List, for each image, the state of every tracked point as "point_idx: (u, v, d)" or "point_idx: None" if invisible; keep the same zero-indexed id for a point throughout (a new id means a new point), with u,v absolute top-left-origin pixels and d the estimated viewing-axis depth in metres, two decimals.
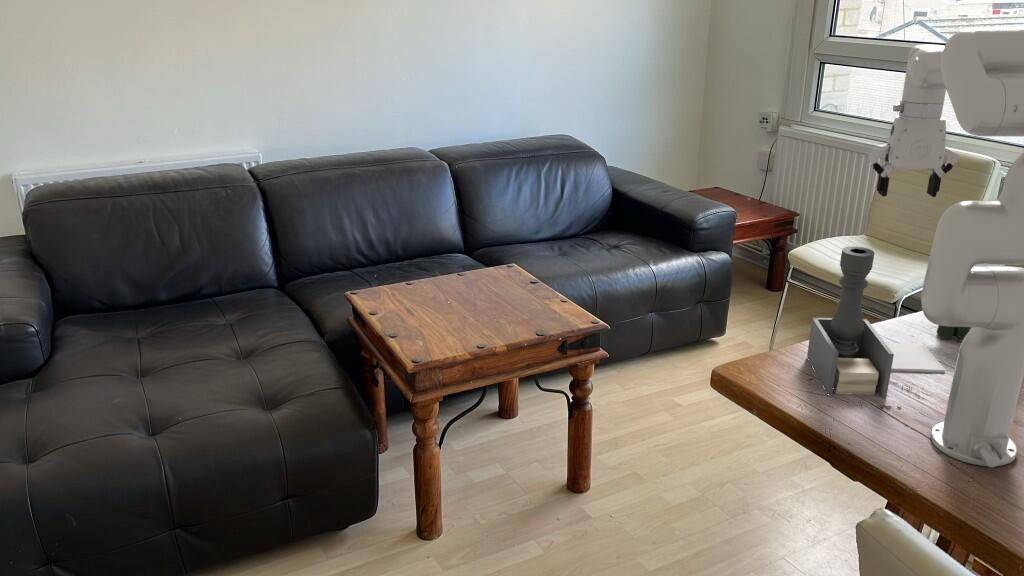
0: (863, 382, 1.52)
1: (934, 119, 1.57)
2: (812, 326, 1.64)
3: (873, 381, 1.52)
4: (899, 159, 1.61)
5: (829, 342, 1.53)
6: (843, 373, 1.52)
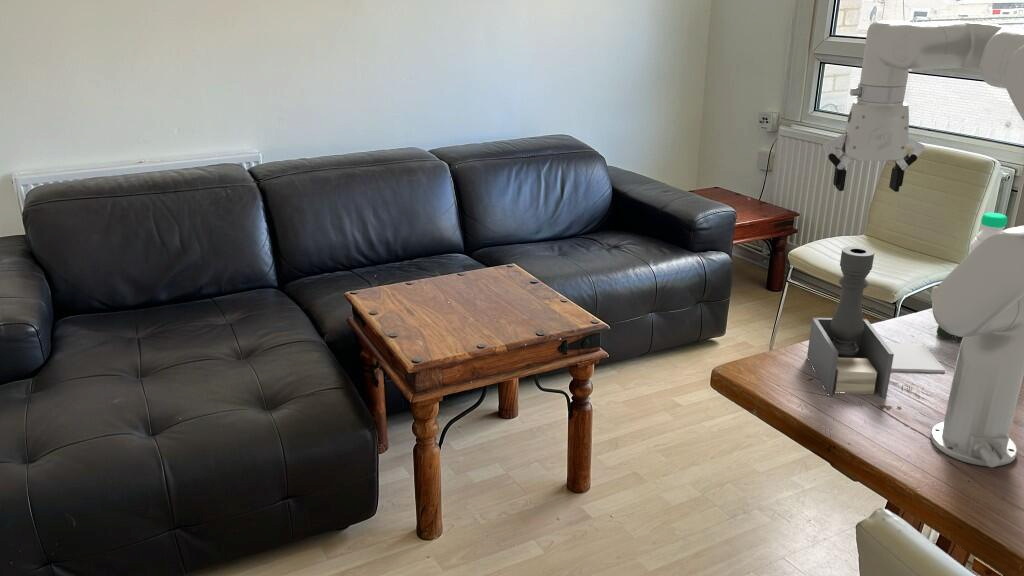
0: (861, 381, 1.52)
1: (895, 104, 1.40)
2: (812, 326, 1.64)
3: (871, 381, 1.52)
4: (857, 149, 1.44)
5: (829, 342, 1.53)
6: (841, 372, 1.52)
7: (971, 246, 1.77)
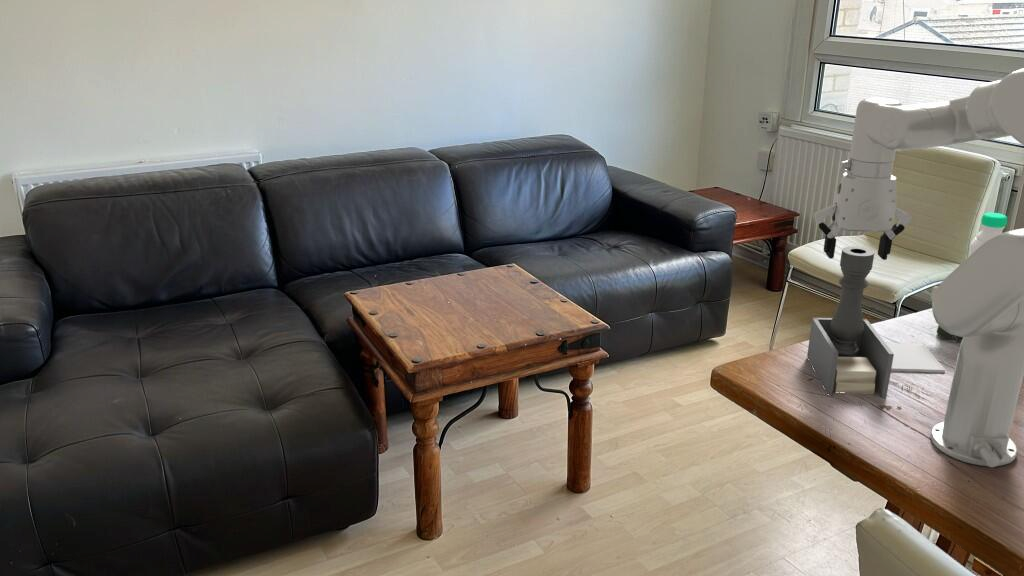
0: (860, 380, 1.52)
1: (883, 179, 1.45)
2: (812, 326, 1.64)
3: (870, 380, 1.52)
4: (846, 220, 1.49)
5: (829, 342, 1.53)
6: (840, 371, 1.52)
7: (971, 246, 1.77)
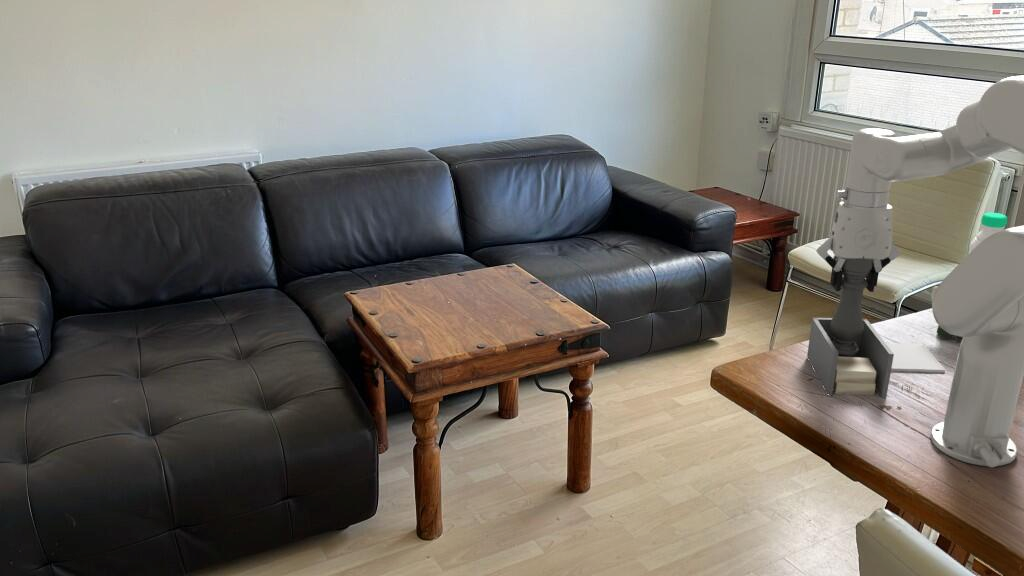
0: (860, 381, 1.52)
1: (879, 208, 1.46)
2: (812, 326, 1.64)
3: (870, 380, 1.52)
4: (843, 249, 1.51)
5: (829, 342, 1.53)
6: (840, 371, 1.52)
7: (971, 246, 1.77)
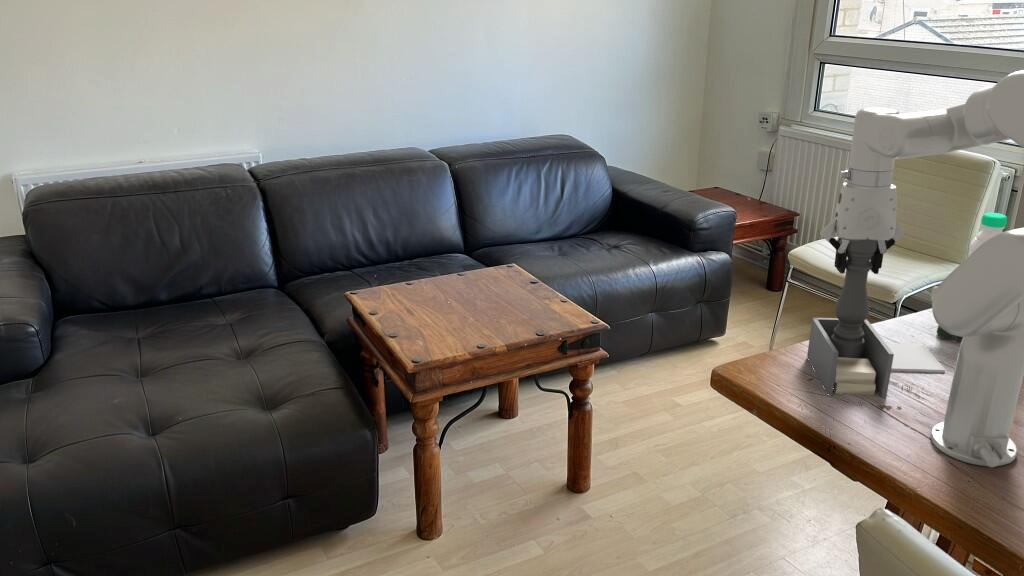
0: (860, 381, 1.52)
1: (883, 188, 1.45)
2: (812, 326, 1.64)
3: (870, 381, 1.52)
4: (847, 230, 1.49)
5: (829, 342, 1.53)
6: (839, 371, 1.52)
7: (971, 246, 1.77)
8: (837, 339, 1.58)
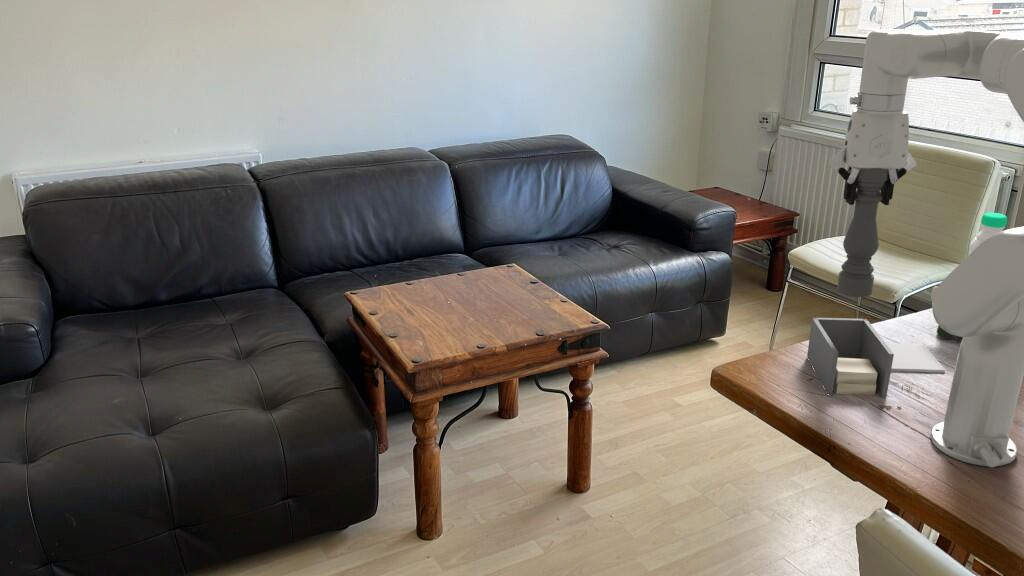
0: (861, 382, 1.52)
1: (895, 112, 1.40)
2: (812, 326, 1.64)
3: (871, 381, 1.52)
4: (857, 158, 1.44)
5: (829, 342, 1.53)
6: (841, 372, 1.52)
7: (971, 246, 1.77)
8: (845, 274, 1.54)
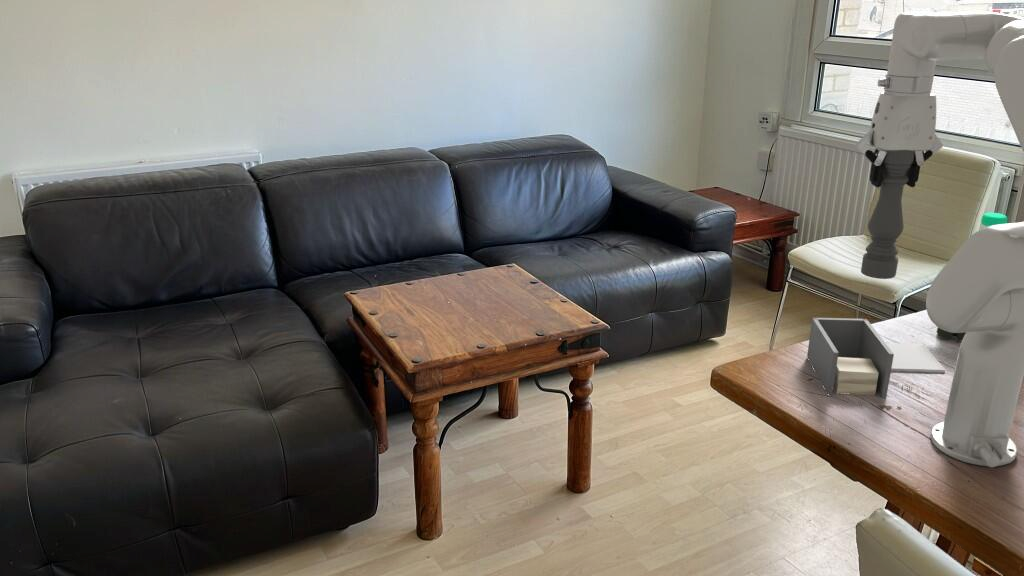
0: (862, 381, 1.52)
1: (924, 94, 1.41)
2: (812, 326, 1.64)
3: (873, 381, 1.52)
4: (885, 140, 1.45)
5: (829, 342, 1.53)
6: (842, 372, 1.52)
7: None
8: (870, 257, 1.54)
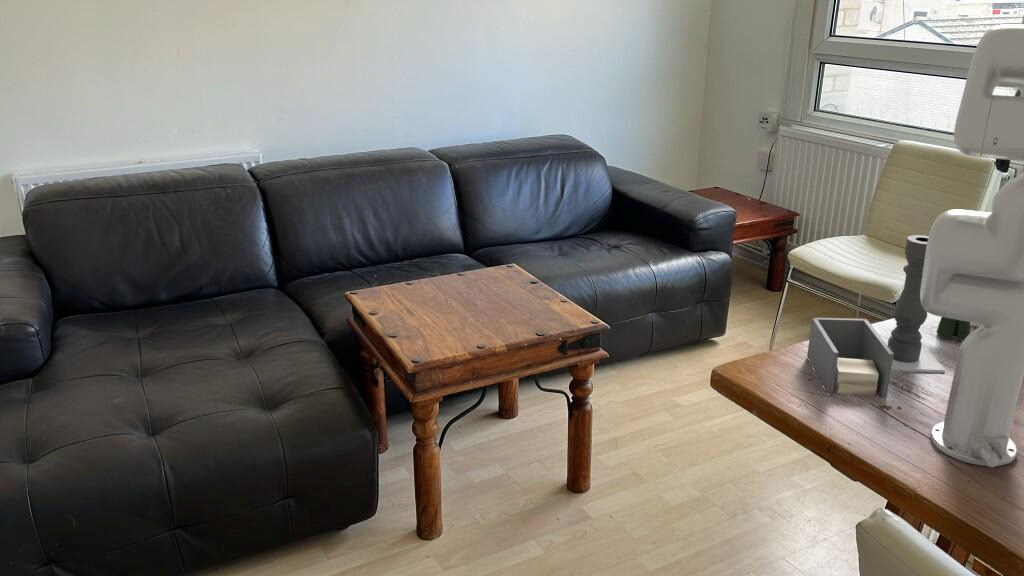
0: (862, 383, 1.52)
1: None
2: (812, 326, 1.64)
3: (873, 382, 1.51)
4: None
5: (829, 342, 1.53)
6: (841, 372, 1.52)
7: None
8: (895, 341, 1.64)
